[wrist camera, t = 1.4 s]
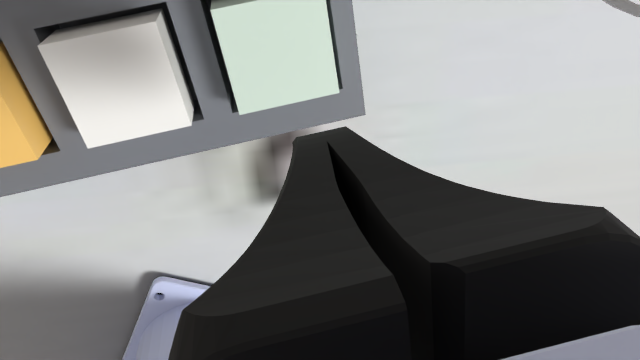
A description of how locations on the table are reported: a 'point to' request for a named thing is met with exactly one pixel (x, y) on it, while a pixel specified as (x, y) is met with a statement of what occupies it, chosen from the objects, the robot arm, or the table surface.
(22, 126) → the amber key
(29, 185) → the keypad
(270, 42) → the sage key
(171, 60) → the middle key
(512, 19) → the table surface
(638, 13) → the clip-on lamp
